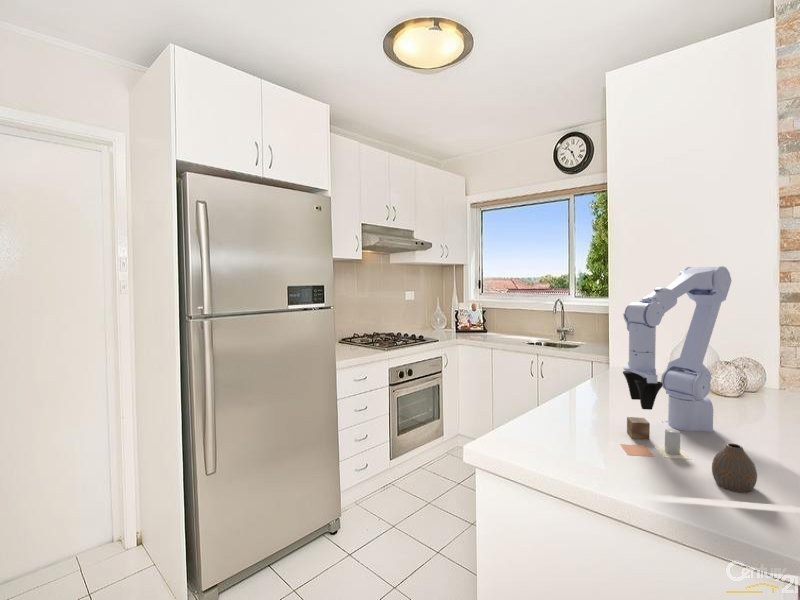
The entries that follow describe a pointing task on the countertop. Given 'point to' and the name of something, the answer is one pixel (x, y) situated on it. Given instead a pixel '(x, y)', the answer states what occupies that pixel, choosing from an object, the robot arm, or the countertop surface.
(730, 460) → the vase
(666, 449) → the grey peg
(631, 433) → the walnut block
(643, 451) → the mat
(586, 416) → the countertop surface
